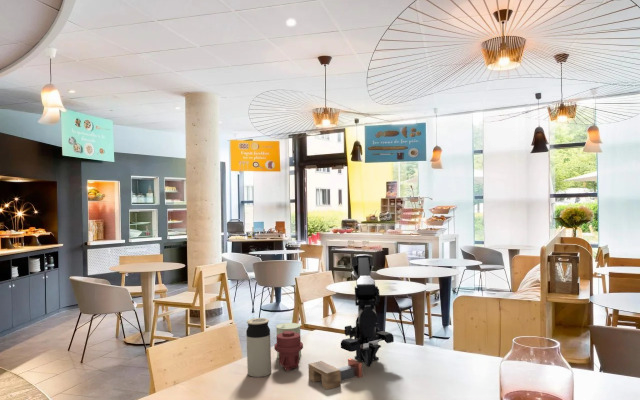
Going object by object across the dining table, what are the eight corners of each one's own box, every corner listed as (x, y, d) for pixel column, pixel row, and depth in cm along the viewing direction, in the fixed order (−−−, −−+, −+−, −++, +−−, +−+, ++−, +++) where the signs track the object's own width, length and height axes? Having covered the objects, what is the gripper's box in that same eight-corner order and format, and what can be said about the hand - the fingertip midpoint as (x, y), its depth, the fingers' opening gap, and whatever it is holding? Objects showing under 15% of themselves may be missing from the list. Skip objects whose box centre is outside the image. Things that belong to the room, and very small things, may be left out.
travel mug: (275, 371, 170) (274, 318, 170) (263, 378, 163) (261, 324, 163) (255, 368, 173) (254, 316, 173) (243, 375, 166) (241, 322, 166)
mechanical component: (306, 363, 177) (299, 373, 167) (279, 362, 179) (271, 371, 169) (305, 328, 177) (298, 336, 167) (278, 328, 179) (270, 335, 169)
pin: (351, 371, 167) (350, 358, 167) (362, 376, 162) (361, 362, 162) (331, 377, 163) (330, 363, 163) (341, 382, 157) (341, 367, 157)
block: (321, 375, 164) (321, 360, 164) (340, 385, 154) (340, 369, 154) (308, 379, 161) (308, 363, 161) (327, 389, 152) (326, 373, 152)
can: (271, 357, 185) (270, 325, 185) (289, 351, 192) (288, 320, 192) (289, 362, 179) (288, 328, 179) (306, 355, 186) (305, 323, 186)
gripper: (373, 312, 179) (374, 355, 179) (330, 320, 169) (332, 365, 169) (394, 317, 170) (395, 363, 169) (349, 326, 159) (351, 374, 159)
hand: (368, 366), depth 167 cm, fingers closed
